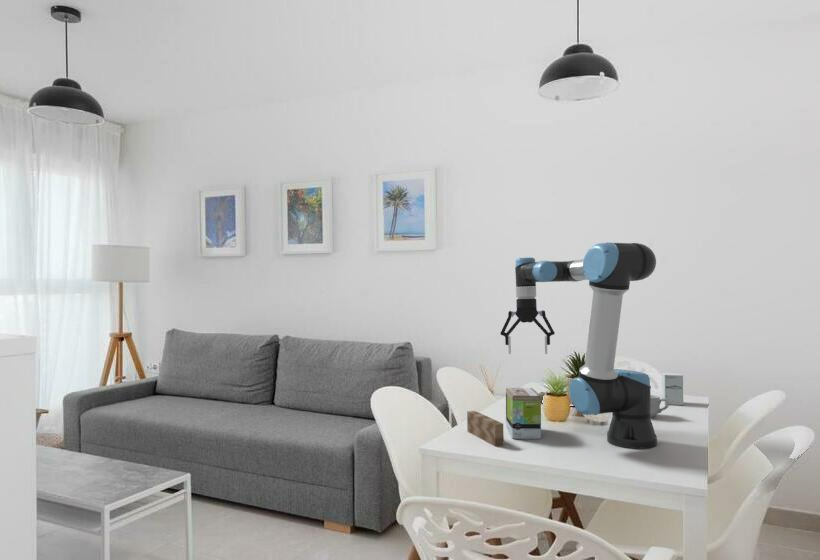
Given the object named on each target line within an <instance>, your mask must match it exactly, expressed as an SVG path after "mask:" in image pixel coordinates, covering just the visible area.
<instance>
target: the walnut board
mask: <svg viewBox="0 0 820 560" xmlns="http://www.w3.org/2000/svg"><path fill="white" fill-rule="evenodd" d="M466 422H467V423H466V426H467V431H466V432H468V433H470V434H472V435H473V436H476V437H477V438H479V439H480V440H483V441H484V442H486V443H488V444H490V445H491V446H494V447H503V446H505V445H504V437H505V436H504V423H503V422H500V421H498V420H496V419H494V418H491V417H490V416H488V415H485V414H484V413H481V412H478V411H477V410H469V411H466Z"/></svg>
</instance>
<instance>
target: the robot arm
mask: <svg viewBox="0 0 820 560" xmlns="http://www.w3.org/2000/svg"><path fill="white" fill-rule="evenodd" d="M656 258H657V257H656V255H655V253H654V251H653V250H652V249H651V248H650V247H649V246H647V245H646V244H642V243H640V242H639V243H638V242H629V243H628V242H627V243H626V242H602V243H595V244H594V245H592V246H591V247H590V248H589V249H588V250H587V252H586V253H585V255H584V258H582V259H575V260H564V261H557V260H556V261H555V260H554V261H550V260H539V261H536V258H534V257H519V258H516V260H515V267H514V268H515V269H514V270H515V294H516V296H515V297H516V298H517V299H516V300H515V301H516V303H515V304H516V310H515V311H514V310H513V311H512V310H508V313H507V314H508V315H507V318H506V320H505V323H504V324H503V327H502V329H501V331H500V335H501V336H504V339H505V341H504V342H505V343H504V345H505V346H508V355H511V354H512V348H511V347H512V345H511V340H512V339H511V338H512V337H511V336H510V334H512V332H513V331H515V330H514V329H515V328H516V327H517V326H518V325H519V323H533V322H534V323H535V324H536V326H538V327H539V330H541V331H542V332H543V333H544V334H545V336H544V354H545V355H548V346H549V345H550V344H551V337H552V336H554V335H555V331H554V329H553V327H552V325H551V324H550V321H549V319H548V318H547V316H546V315H547V314H546V311H545V310H544V309H543V310H538V309H537V308H538V307H537V304H538V303H537V298H536V297H537V283H551V282H571V283H573V282H576V283H577V282H581V281H582V282H583V281H586V280H587V281H589V282H588V286H589V287H590V288H591V290H592V300H591V310H590V318H589V326H588V335H587V343H586V344H587V345H586V353H585V359H584V360H585V361H584V364H583V365H582V366H581V367H579V370H578V377H574V378H573V379H571V381H570V382H569V388H568V391H569V397H570V398H571V401H572V402H573V405H574V406H575V407H574V408H575V409H576V411H578V412H579V413H580V414H582V415H585V416H587V415H588V416H590V415H594V416H596V415H597V416H598V415H602V414H603V415H604V414H610V413H611V415H612V417H611V420H610V423H609V428H608V430H607V432H606V441H607V442H608V443H610V444H611V445H614V446H618V447H621V448H626V449H627V448H628V449H649V448H650V449H651V448H654V447H656V446H657V445H658V436H657V434H656V433H655V427H654V425H653V423H652V419H651V418H652V417H651V404H650V395H651V389H652V385H651V379H650V378H651V377H649V375H648V374H647V373H644V372H640V371H635V370H629V369H618V368H615V362H616V355H617V346H618V344H617V343H618V337H619V328H620V322H621V312H622V304H623V296H624V294H625V293H627V291H629V290H630V284H631V283H630V282H637V281H642V280H645V279H646V278H649V277H650V276H651V275H652V274H653V273H654V272H655V269H656V267H657V259H656ZM538 315H539V316H540V317H542V319H543V320H544V323H545V324H546V327H547V328H548V330H549V331H548V330H547V329H546V328H545V327H544V326H543V325H542V323H540V321H539V320H538V319H537V317H538ZM514 316H516V317H517V320H516V321H515V322H514V323H513V324H512V325H511V326H510V328H509V330H507V329H508V328H507V327H508V326H509V323H511V319H512V318H513V317H514ZM506 330H507V331H506Z"/></svg>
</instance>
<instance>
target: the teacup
mask: <svg viewBox="0 0 820 560" xmlns="http://www.w3.org/2000/svg"><path fill="white" fill-rule="evenodd" d="M663 401H665V402H666V405H665V406H663V407H661V408H660V406H661V403H662V402H663ZM650 404H651V418H654V417H656V416H657V415H658V414H661V413H662V412H663V411H665V410H667V409H668V407H669V406H670V405H669V402H668V400H667V399H665V398H662V397H660V396H659V395H655V394H650Z"/></svg>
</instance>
